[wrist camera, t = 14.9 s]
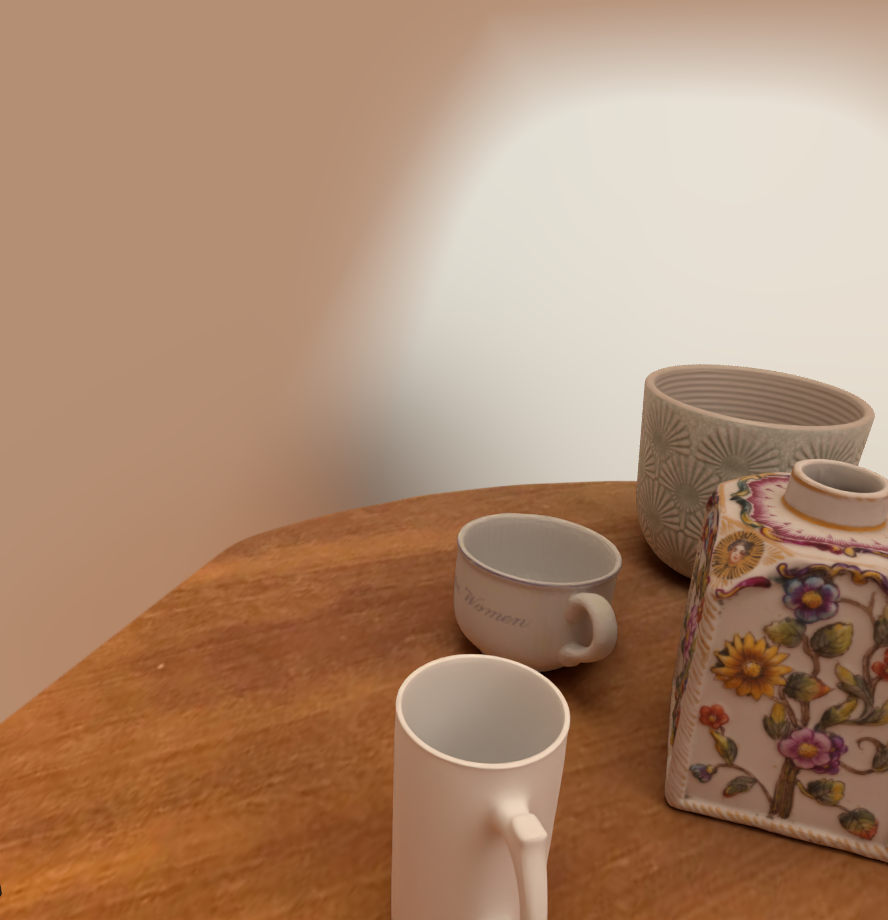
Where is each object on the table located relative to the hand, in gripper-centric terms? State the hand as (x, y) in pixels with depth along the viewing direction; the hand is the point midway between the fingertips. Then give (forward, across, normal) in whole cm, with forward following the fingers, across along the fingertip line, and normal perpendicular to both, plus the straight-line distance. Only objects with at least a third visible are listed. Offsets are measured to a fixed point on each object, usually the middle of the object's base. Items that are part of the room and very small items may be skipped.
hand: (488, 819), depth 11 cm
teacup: (+38, +9, -24) cm, 46 cm away
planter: (+52, +26, -24) cm, 63 cm away
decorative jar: (+28, +21, -24) cm, 43 cm away
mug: (+16, +3, -24) cm, 29 cm away
